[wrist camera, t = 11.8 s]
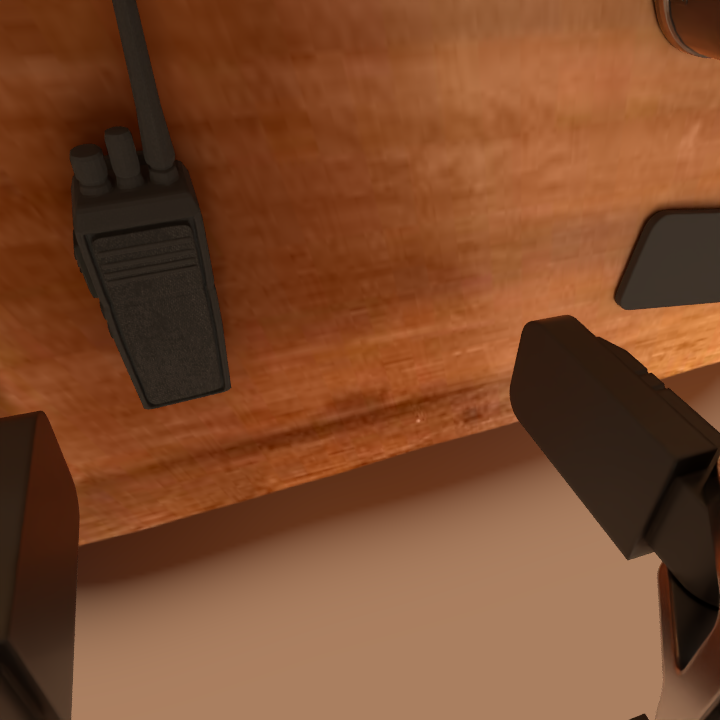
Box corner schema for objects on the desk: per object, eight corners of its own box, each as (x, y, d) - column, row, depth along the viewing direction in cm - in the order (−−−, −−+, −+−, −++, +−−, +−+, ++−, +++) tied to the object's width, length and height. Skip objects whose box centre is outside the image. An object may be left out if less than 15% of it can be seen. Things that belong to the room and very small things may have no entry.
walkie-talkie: (102, 406, 32) (-93, -49, 18) (176, 335, 36) (65, -81, 22) (198, 446, 30) (66, -25, 16) (265, 367, 34) (206, -64, 20)
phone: (658, 213, 39) (820, 210, 44) (649, 208, 39) (810, 205, 44) (615, 312, 43) (767, 298, 48) (608, 306, 44) (758, 293, 48)
